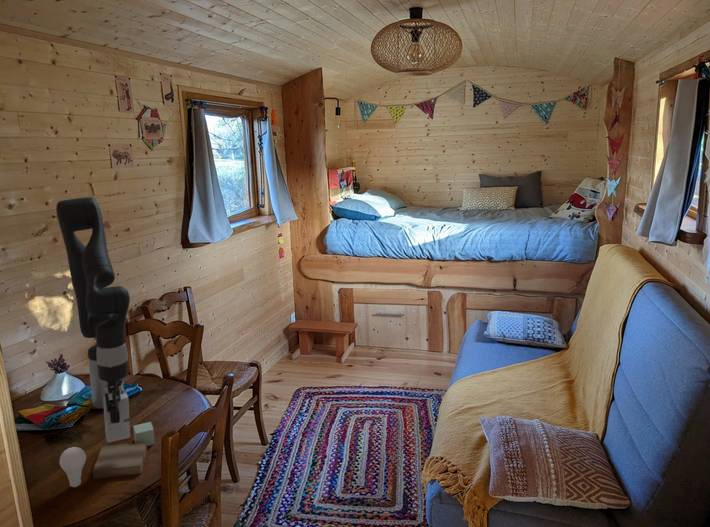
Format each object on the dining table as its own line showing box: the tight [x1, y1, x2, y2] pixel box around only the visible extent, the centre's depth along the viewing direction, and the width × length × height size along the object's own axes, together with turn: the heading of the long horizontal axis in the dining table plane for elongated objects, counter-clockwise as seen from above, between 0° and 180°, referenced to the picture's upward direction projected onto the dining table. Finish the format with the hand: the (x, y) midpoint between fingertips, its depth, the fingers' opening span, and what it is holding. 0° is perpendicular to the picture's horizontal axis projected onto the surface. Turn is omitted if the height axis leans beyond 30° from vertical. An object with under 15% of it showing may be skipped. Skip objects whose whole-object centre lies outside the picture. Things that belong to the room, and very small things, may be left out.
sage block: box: [132, 421, 155, 447], centre depth 161 cm, size 5×5×5 cm
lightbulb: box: [59, 446, 87, 488], centre depth 139 cm, size 6×6×11 cm
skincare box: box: [103, 391, 131, 443], centre depth 147 cm, size 6×4×12 cm
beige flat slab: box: [92, 442, 148, 480], centre depth 151 cm, size 12×12×3 cm
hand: (117, 417), depth 148 cm, fingers closed on skincare box, 5 cm apart
